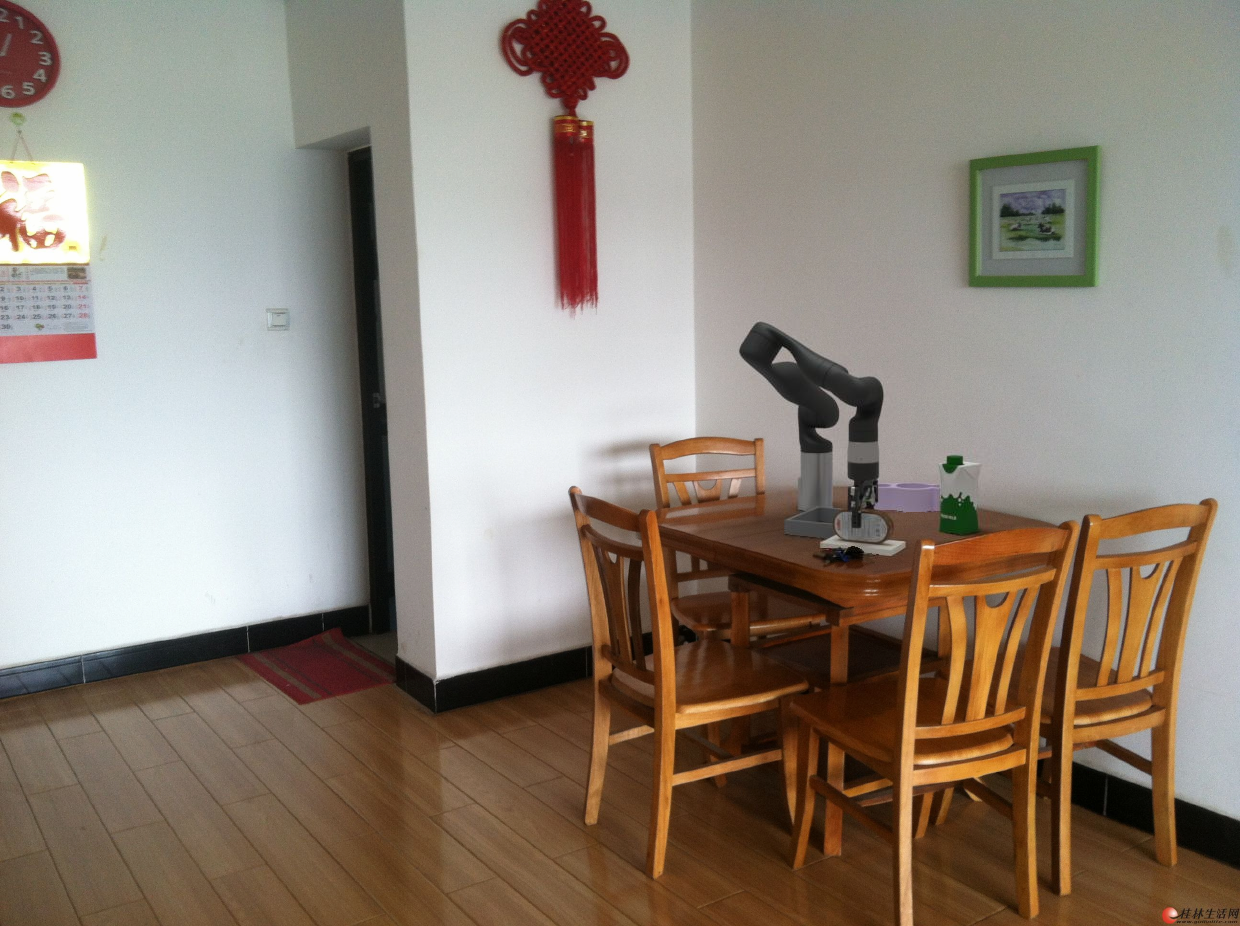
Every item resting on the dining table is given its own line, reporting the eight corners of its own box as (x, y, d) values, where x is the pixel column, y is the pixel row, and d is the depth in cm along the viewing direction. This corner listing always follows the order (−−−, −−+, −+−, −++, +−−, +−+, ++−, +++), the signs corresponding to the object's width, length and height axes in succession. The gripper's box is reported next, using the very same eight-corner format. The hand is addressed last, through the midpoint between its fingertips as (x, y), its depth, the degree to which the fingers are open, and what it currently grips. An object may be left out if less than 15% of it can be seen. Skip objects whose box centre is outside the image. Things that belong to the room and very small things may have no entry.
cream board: (820, 548, 263) (820, 542, 263) (836, 540, 271) (836, 534, 271) (891, 556, 253) (891, 549, 253) (905, 547, 261) (905, 541, 261)
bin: (784, 534, 280) (784, 519, 279) (817, 520, 297) (817, 506, 297) (838, 540, 272) (838, 525, 271) (868, 525, 289) (869, 510, 288)
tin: (894, 544, 259) (894, 509, 258) (889, 546, 257) (889, 512, 255) (835, 538, 268) (835, 505, 266) (830, 540, 265) (830, 507, 264)
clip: (867, 512, 308) (867, 488, 307) (869, 504, 319) (869, 481, 318) (940, 513, 302) (940, 489, 301) (939, 505, 314) (939, 482, 313)
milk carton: (933, 531, 279) (934, 455, 276) (957, 526, 284) (958, 452, 281) (961, 536, 272) (962, 458, 269) (984, 531, 277) (986, 455, 274)
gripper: (867, 464, 251) (867, 531, 254) (888, 456, 263) (888, 520, 265) (837, 462, 255) (837, 529, 258) (859, 454, 267) (859, 518, 270)
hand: (863, 524), depth 262 cm, fingers open, 8 cm apart
